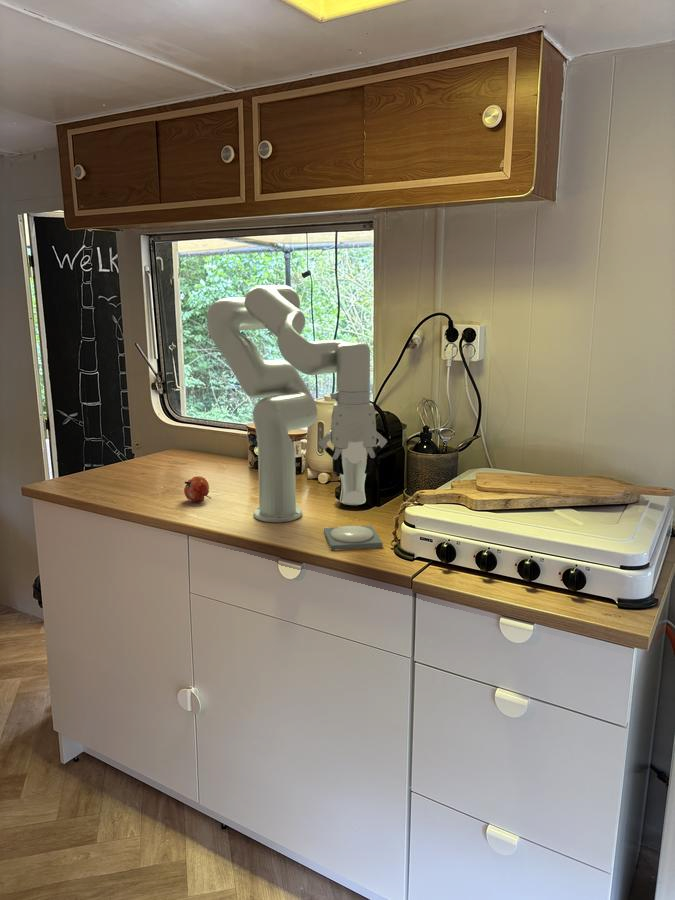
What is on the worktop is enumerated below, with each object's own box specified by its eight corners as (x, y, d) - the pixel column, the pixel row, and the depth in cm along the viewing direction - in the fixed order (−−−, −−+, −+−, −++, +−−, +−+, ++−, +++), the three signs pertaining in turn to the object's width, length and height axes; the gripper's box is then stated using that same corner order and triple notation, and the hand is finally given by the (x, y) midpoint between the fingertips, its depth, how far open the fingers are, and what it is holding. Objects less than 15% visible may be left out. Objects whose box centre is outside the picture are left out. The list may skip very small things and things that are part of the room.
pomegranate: (200, 503, 201) (172, 487, 196) (215, 483, 201) (187, 466, 196) (208, 513, 195) (179, 497, 190) (223, 492, 195) (195, 475, 190)
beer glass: (366, 496, 168) (367, 435, 164) (368, 505, 161) (369, 441, 158) (337, 497, 167) (337, 435, 164) (338, 505, 161) (338, 441, 157)
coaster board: (323, 532, 171) (323, 525, 171) (371, 530, 173) (371, 523, 173) (330, 550, 160) (330, 543, 159) (382, 547, 162) (382, 540, 161)
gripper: (317, 401, 154) (318, 480, 158) (394, 399, 156) (393, 476, 160) (313, 396, 161) (313, 471, 165) (386, 394, 164) (385, 468, 168)
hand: (353, 473), depth 163 cm, fingers closed on beer glass, 6 cm apart
